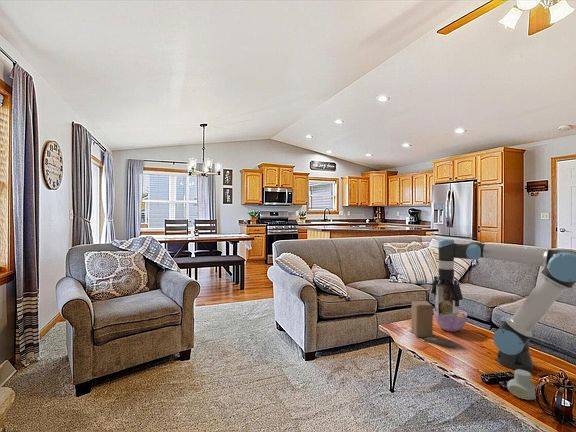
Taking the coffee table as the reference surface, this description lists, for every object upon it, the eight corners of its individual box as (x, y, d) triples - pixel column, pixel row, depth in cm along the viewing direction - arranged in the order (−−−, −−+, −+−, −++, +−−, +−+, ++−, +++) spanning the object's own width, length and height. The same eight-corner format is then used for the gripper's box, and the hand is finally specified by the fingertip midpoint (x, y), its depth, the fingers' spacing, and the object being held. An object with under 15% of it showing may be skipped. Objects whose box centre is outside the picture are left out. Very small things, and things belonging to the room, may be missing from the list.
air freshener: (503, 393, 139) (504, 369, 139) (512, 387, 143) (512, 364, 143) (534, 406, 130) (534, 381, 130) (542, 399, 134) (542, 375, 134)
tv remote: (455, 346, 188) (455, 342, 188) (453, 348, 184) (453, 344, 184) (425, 339, 197) (425, 336, 197) (423, 342, 193) (424, 338, 193)
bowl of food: (426, 325, 219) (426, 308, 219) (450, 322, 225) (450, 306, 225) (449, 336, 200) (449, 318, 200) (474, 333, 206) (475, 314, 206)
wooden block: (433, 337, 199) (433, 305, 198) (416, 337, 199) (416, 305, 198) (426, 331, 209) (426, 300, 208) (410, 331, 209) (410, 300, 208)
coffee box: (454, 313, 177) (454, 284, 176) (457, 317, 170) (456, 286, 170) (435, 312, 179) (435, 283, 179) (438, 316, 173) (437, 285, 173)
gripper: (470, 271, 166) (470, 314, 166) (433, 264, 186) (433, 303, 187) (460, 272, 163) (460, 316, 163) (423, 265, 183) (424, 305, 183)
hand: (446, 309), depth 175 cm, fingers closed on coffee box, 10 cm apart
